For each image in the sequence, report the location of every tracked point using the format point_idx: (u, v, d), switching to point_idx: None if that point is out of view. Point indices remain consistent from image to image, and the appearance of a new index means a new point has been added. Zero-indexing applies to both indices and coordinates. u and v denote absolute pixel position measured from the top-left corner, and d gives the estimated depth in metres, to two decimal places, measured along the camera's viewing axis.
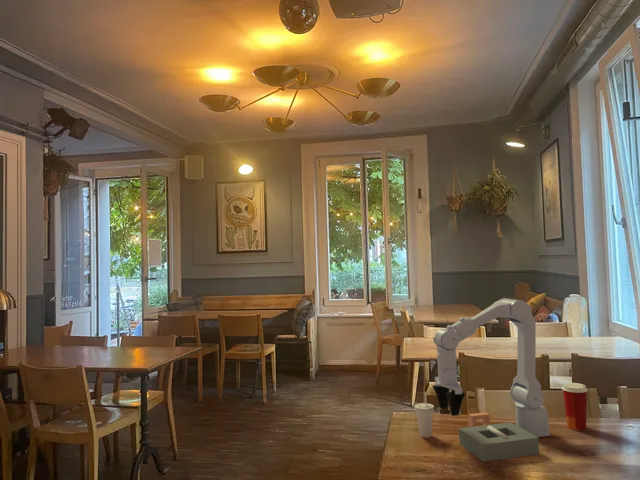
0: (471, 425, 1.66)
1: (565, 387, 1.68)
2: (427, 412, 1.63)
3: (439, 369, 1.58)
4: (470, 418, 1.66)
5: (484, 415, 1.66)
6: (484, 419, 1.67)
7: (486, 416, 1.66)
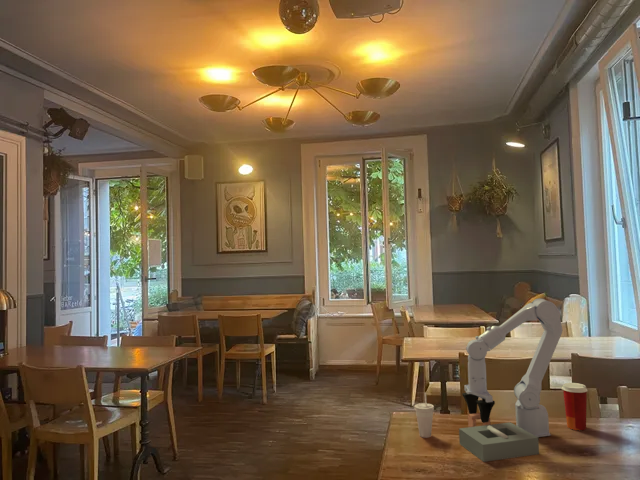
0: (471, 425, 1.66)
1: (565, 387, 1.68)
2: (427, 412, 1.63)
3: (470, 378, 1.66)
4: (470, 418, 1.66)
5: None
6: None
7: None
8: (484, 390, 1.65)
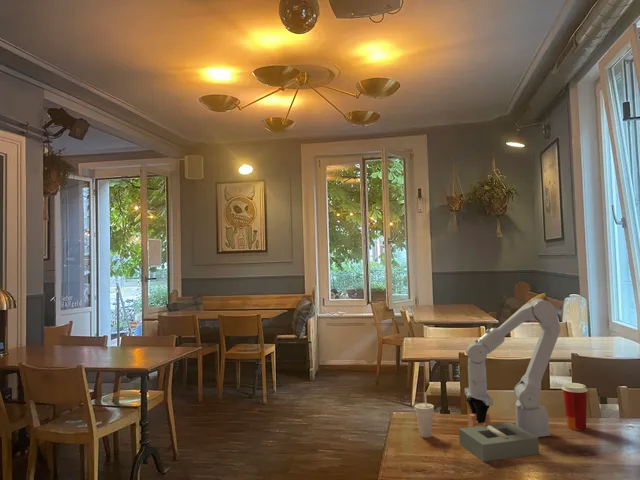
0: (471, 425, 1.66)
1: (565, 387, 1.68)
2: (427, 412, 1.63)
3: (470, 381, 1.66)
4: (470, 418, 1.66)
5: None
6: None
7: (486, 416, 1.66)
8: (484, 393, 1.65)
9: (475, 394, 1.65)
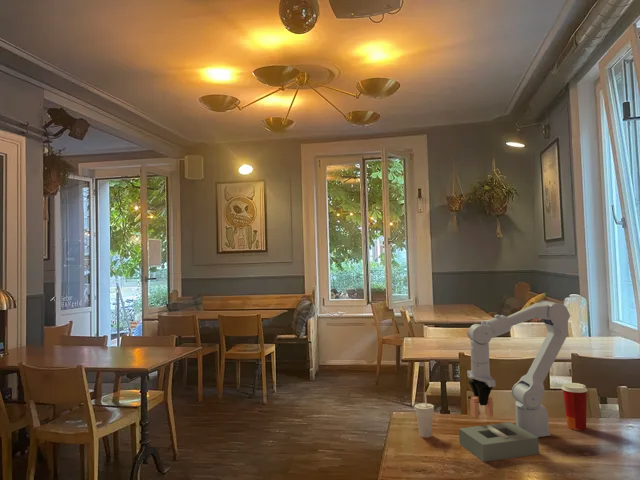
0: (473, 408, 1.63)
1: (565, 387, 1.68)
2: (427, 412, 1.63)
3: (472, 363, 1.63)
4: (472, 401, 1.63)
5: None
6: None
7: (489, 399, 1.63)
8: (487, 375, 1.61)
9: (477, 376, 1.62)
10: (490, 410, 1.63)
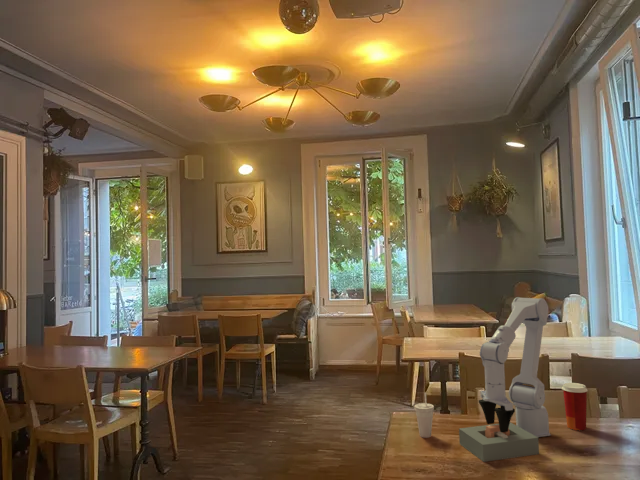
0: None
1: (565, 387, 1.68)
2: (427, 412, 1.63)
3: (487, 384, 1.52)
4: (488, 430, 1.52)
5: None
6: None
7: None
8: (503, 397, 1.51)
9: (493, 398, 1.51)
10: None
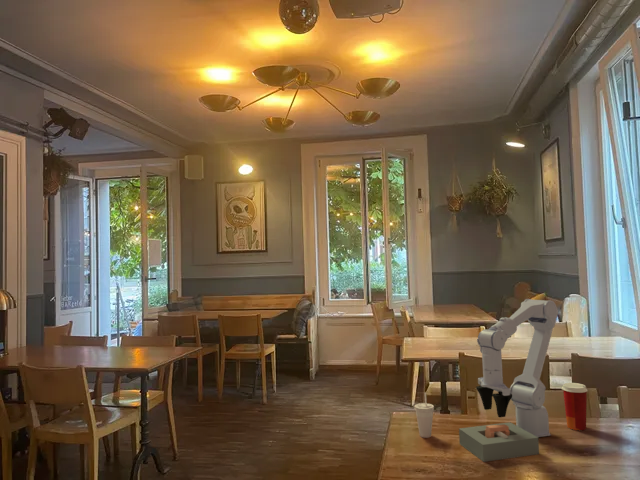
0: None
1: (565, 387, 1.68)
2: (427, 412, 1.63)
3: (484, 370, 1.56)
4: (488, 430, 1.52)
5: (503, 427, 1.52)
6: (503, 431, 1.53)
7: (505, 429, 1.52)
8: (500, 383, 1.54)
9: (490, 384, 1.54)
10: None
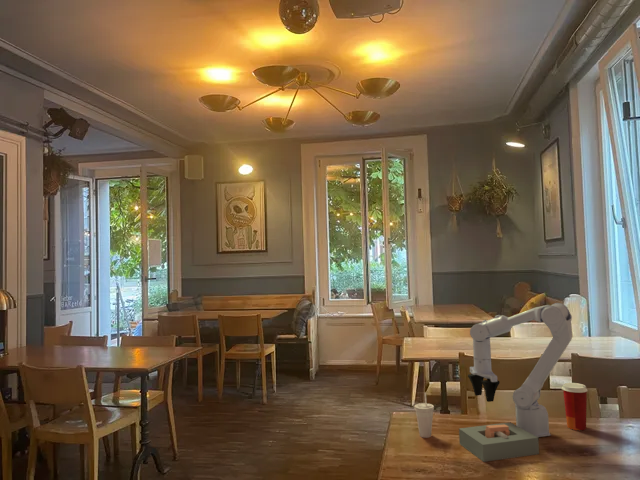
0: None
1: (565, 387, 1.68)
2: (427, 412, 1.63)
3: (475, 359, 1.72)
4: (488, 430, 1.52)
5: (503, 427, 1.52)
6: (503, 431, 1.53)
7: (505, 429, 1.52)
8: (489, 371, 1.71)
9: (480, 371, 1.71)
10: None
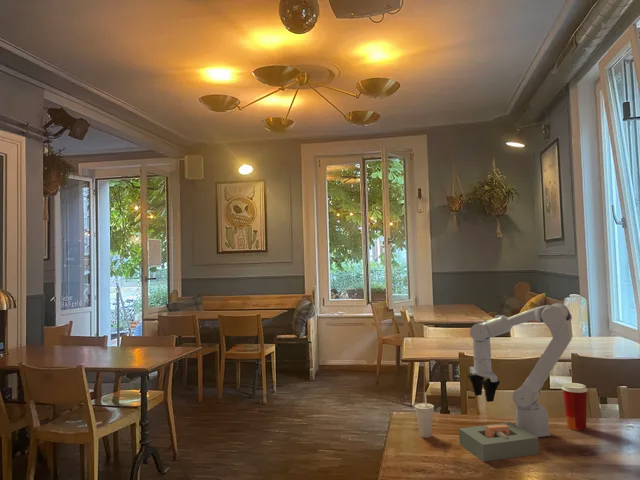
0: None
1: (565, 387, 1.68)
2: (427, 412, 1.63)
3: (475, 359, 1.72)
4: (488, 430, 1.52)
5: (503, 427, 1.52)
6: (503, 431, 1.53)
7: (505, 429, 1.52)
8: (489, 371, 1.71)
9: (480, 371, 1.71)
10: None
